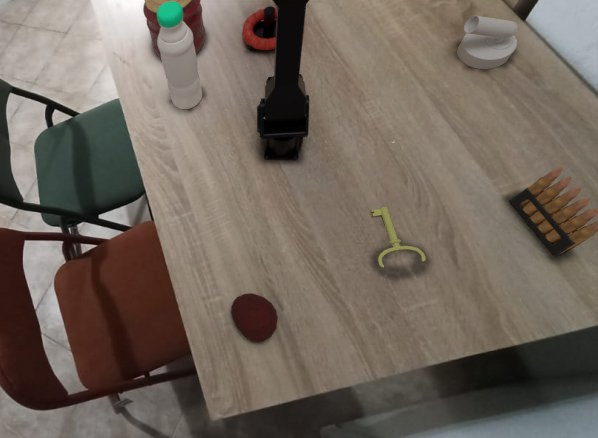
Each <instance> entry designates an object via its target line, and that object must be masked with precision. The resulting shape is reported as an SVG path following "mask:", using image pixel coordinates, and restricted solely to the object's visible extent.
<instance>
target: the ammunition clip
mask: <svg viewBox="0 0 598 438" xmlns="http://www.w3.org/2000/svg"><path fill="white" fill-rule="evenodd" d="M563 171H564V167H562V166H561V167H557V168H554V169H552V170H550V171H549V172H548V173H546V174H544V176H541V177H539V178H538V179H537V180H536V181H534V182H533V183H532V184H531V185H530V186H528V187H526V188H525V189H523V190H521V192H519V193H518V194H517V195H515V196H513V197H512V198H511V199H509V201H508V202H509V203H510V204H511V206H512V207H513V208H514V210H516V212H517V213H518V215H519V216H520V217H521V218H522V219H523V220H524V222H525V223H526V224H527V225H528V227H529V228H530V229H531V230H532V232H533V233H534V234H535V236H536V237H537V238H538V239H539V240H540V241H541V243H542V244H543V245H544V246H545V247H546V249H547V250H548V251H549V253H550V254H551V255H552V256H554V257H557V256H560V255H563V254H566V253H568V252H569V251H571V250H573V249H574V248H576V247H577V246H579V245H581V244H583V243H584V242H585V241H587V240H589V239H590V238H592V237H594V236H595V235H596V234H597V233H598V220H596V221H594V222H592V223H590V224H588V222H590V221H591V220H593V219H594V218H595V217H596V216H597V215H598V207H594V208H591V209H588V210H586V211H584V212H583V213H580V214H578V213H579V212H580V211H582V209H584V208H585V207H587V206H588V205H589V203H590V202H591V199H592V198H591V197H590V196H589V197H583V198H581V199H578V200H576V201H574V202H572V201H573V200H574V199H575V198H576V197H577V196H578V195H579V194H580V193H581V191H582V187H581V186H579V187H578V186H577V187H573V188H571V189H570V190H568V191H566V192H565V193H563V194H561V192H563V191H564V190H565V189H566V188H567V187H568V186H569V185H570V184H571V182H572V181H573V177H572V176H568V177H565V178H563V179H561V180H559V181H557V182H556V183H554V184H553V182H554V181H555V180H557V179H558V178H559V176H560V175H561V174H562V172H563ZM552 184H553V185H552ZM560 194H561V195H560ZM570 202H572V203H571V204H570V205H568V204H569V203H570ZM577 214H578V215H577ZM586 224H587V225H586Z"/></svg>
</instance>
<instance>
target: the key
mask: <svg viewBox="0 0 598 438" xmlns="http://www.w3.org/2000/svg"><path fill="white" fill-rule="evenodd" d="M370 213H371V217H382V222H383V224H384V226H385V227H384V228H385V229H386V232H387V236H388V237H389V238H388V239H389V241H388V244H390V245H391V246H392V247H389V248H387V249H384V250H383V251H381V252H380V253H379V255H378V257H377V261H378V264H379V266H380V267H381V268H385V264H384V263H383V257H385V256H386V255H387V254H390V253H392V252H396V251H413V252H416V253H418V254H419V256H420V257H421V261H422V262H425V261H426V259H427V257H426V255H425V253H424V252H423V250H422V249H420V248H418V247H415V246H411V245H400V244H401V242H402V240H401V239H399V238H398V236H397V232H396V230H395V227H394V224H393V220H392V217H391V215H390V212H389V208H388V207H387V206H383V207H380V208H377V209H372V210H370Z"/></svg>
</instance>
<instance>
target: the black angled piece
mask: <svg viewBox="0 0 598 438" xmlns="http://www.w3.org/2000/svg"><path fill="white" fill-rule="evenodd" d="M274 7H275V6H273V5H269V6H265V7H264V8H265V9H264V8H263V9H264V20H262V21H260V22H259V23H257V24H256V25H255V26H254V28H253V32H254V34H255V35H256V36H258V37H260V38H266V39H269V38H274V37H276V19H275V8H274ZM273 50H274V49H271V51H273ZM253 51H255V52H256V51H261V50H260V49H255V48H253V47H252V46H250V45H249V52H253Z"/></svg>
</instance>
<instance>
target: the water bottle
mask: <svg viewBox="0 0 598 438" xmlns="http://www.w3.org/2000/svg"><path fill="white" fill-rule="evenodd" d="M157 19H158V22H159V24H160V26H161V28H160V33H159V36H158V40H157V44H158V48H159V50H160V54H161V58H160V59H161V63H162V67H163V72H164V74H165V78H166V80H167V87H168V90H169V95H170V99H171V102H172V104H173V105H174V107H176V108H177V109H181V110H188V109H192V108H194V107H196V106H197V105H198V104H200V102H201V100H202V98H203V89H202V85H201V77H200V74H199V67H198V66H199V65H198V59H197V58H198V57H197V53H196V52H195V47H194V43H193V33H192V31H191V29H190V28H189V27H188V26H187V25H186V24H185V22H184V21H183V9H182V7H181V5H180V4H179V3H177V2H175V1H170V2H166V3H164V4H162V5H161V6H160V7H159V8H158V11H157Z"/></svg>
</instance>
